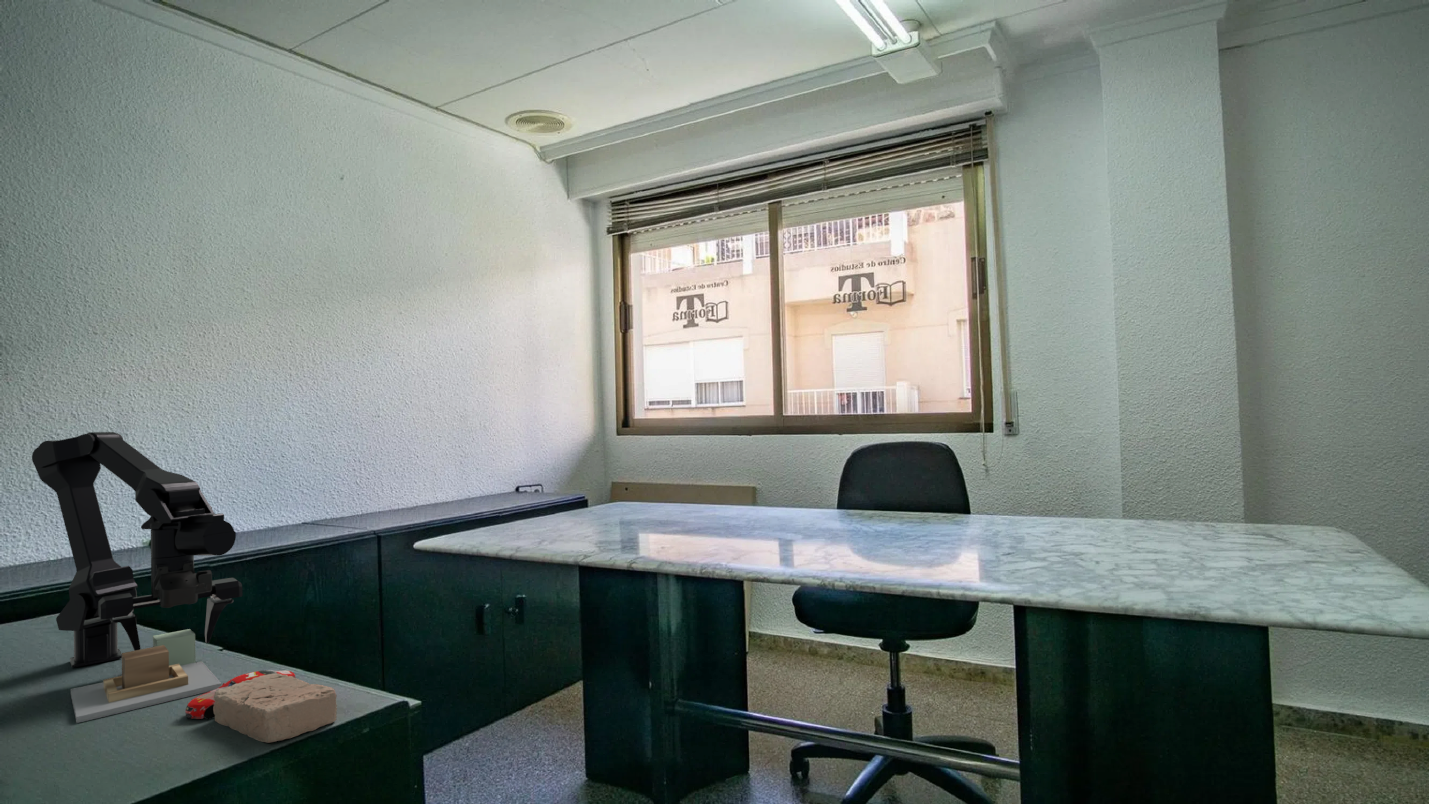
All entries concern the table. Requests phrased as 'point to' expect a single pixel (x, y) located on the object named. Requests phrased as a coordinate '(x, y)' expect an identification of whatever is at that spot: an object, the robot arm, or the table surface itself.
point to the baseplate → (141, 692)
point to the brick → (275, 707)
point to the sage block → (178, 646)
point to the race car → (205, 702)
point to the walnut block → (145, 666)
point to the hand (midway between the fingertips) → (173, 649)
